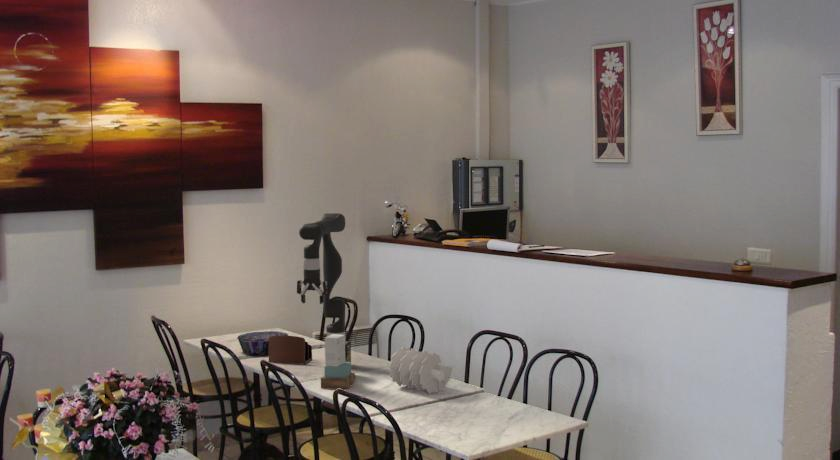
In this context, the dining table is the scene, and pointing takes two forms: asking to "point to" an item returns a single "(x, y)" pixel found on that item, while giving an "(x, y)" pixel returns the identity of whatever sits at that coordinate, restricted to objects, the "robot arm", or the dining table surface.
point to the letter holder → (289, 350)
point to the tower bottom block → (338, 382)
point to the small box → (335, 350)
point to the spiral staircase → (419, 370)
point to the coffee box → (347, 351)
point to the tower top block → (338, 371)
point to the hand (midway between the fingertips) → (312, 303)
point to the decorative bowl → (257, 341)
